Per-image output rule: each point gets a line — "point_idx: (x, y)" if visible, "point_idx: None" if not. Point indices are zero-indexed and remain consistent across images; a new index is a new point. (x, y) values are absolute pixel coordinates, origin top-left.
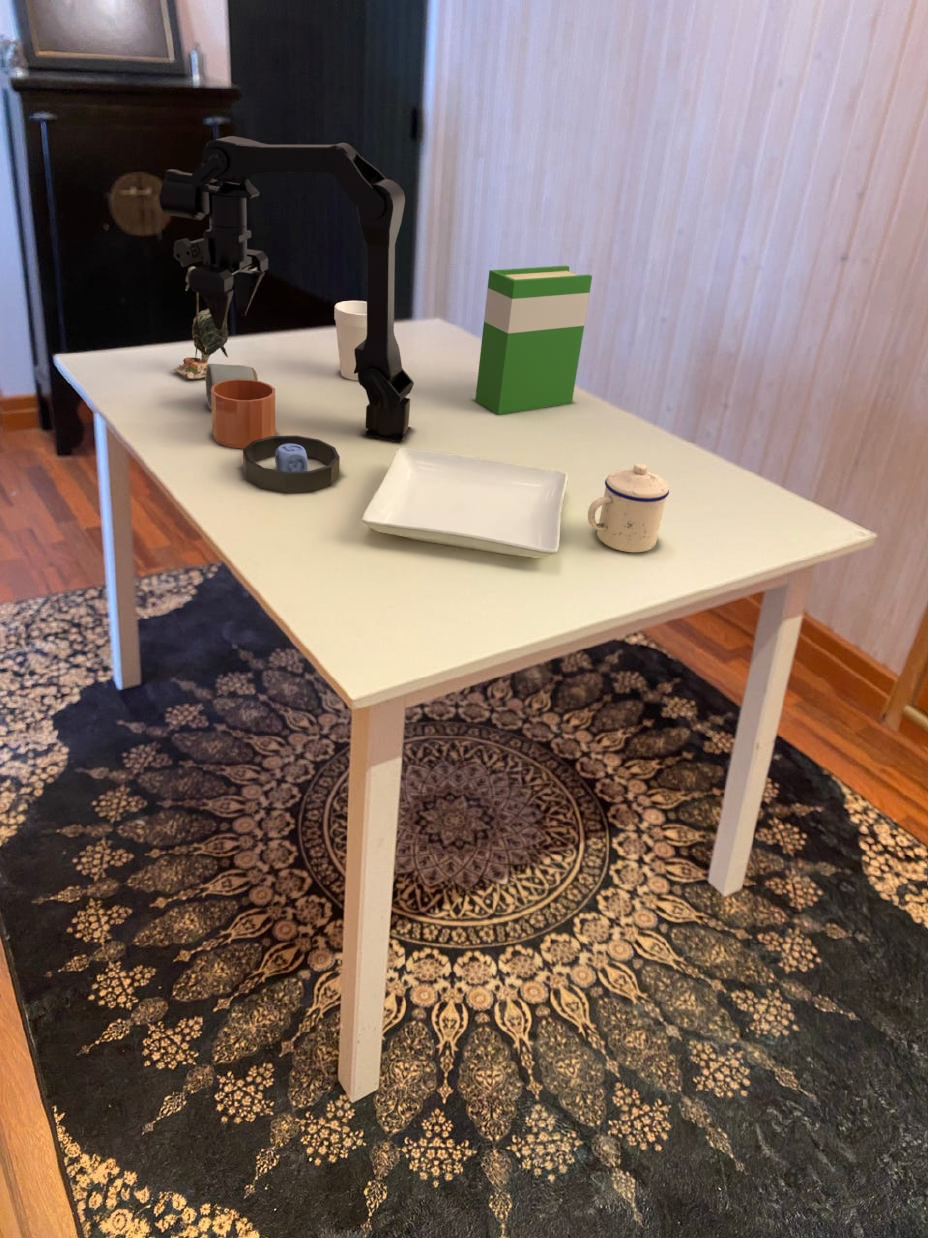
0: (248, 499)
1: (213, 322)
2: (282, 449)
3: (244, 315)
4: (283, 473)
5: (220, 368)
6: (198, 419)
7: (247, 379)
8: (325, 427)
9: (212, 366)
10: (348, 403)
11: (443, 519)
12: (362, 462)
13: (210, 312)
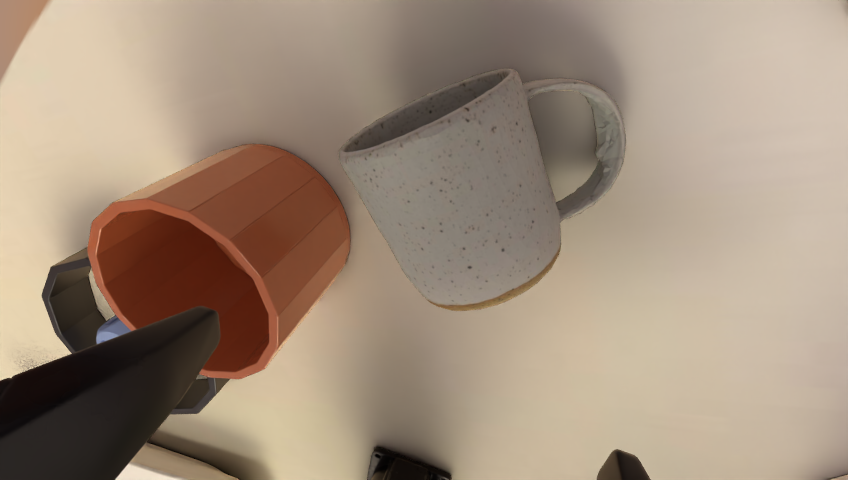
0: (37, 253)
1: (153, 323)
2: (105, 337)
3: (599, 477)
4: (54, 329)
5: (388, 192)
6: (340, 73)
7: (272, 308)
8: (401, 387)
9: (379, 159)
10: (581, 449)
11: (127, 477)
12: (262, 422)
13: (47, 367)
